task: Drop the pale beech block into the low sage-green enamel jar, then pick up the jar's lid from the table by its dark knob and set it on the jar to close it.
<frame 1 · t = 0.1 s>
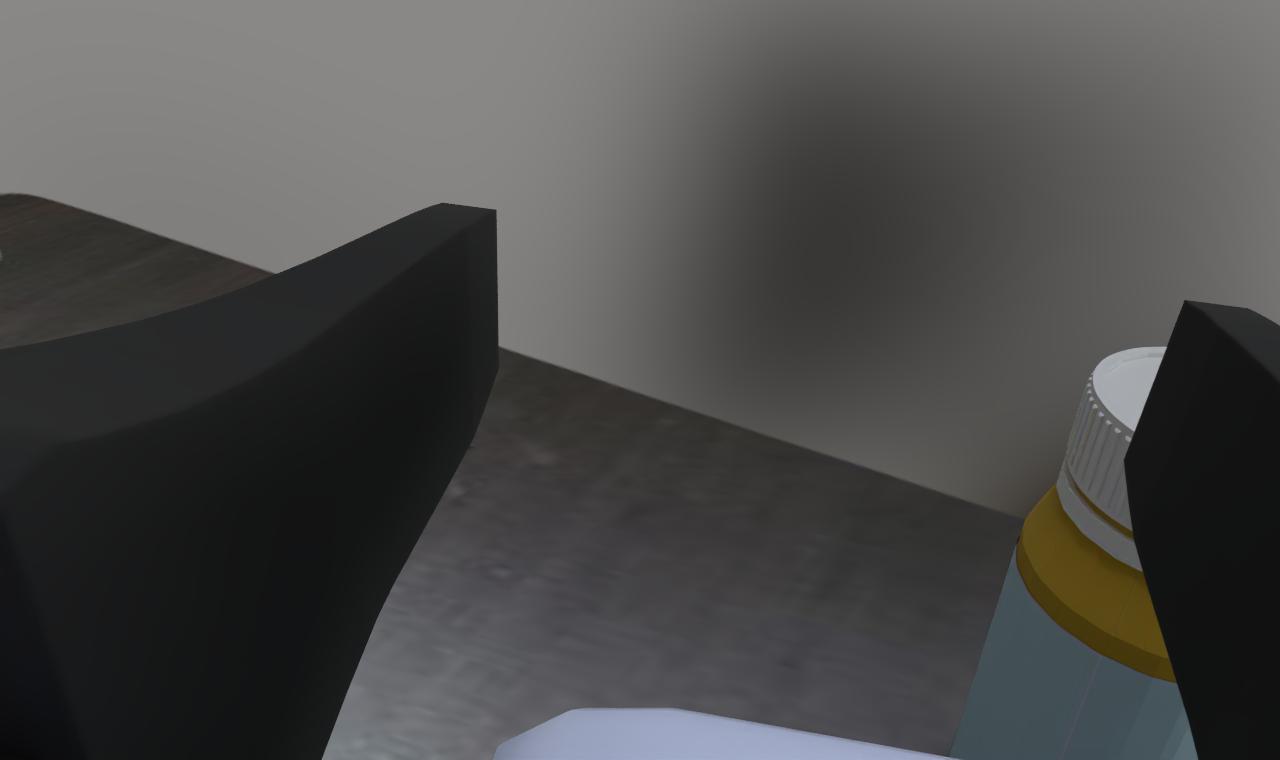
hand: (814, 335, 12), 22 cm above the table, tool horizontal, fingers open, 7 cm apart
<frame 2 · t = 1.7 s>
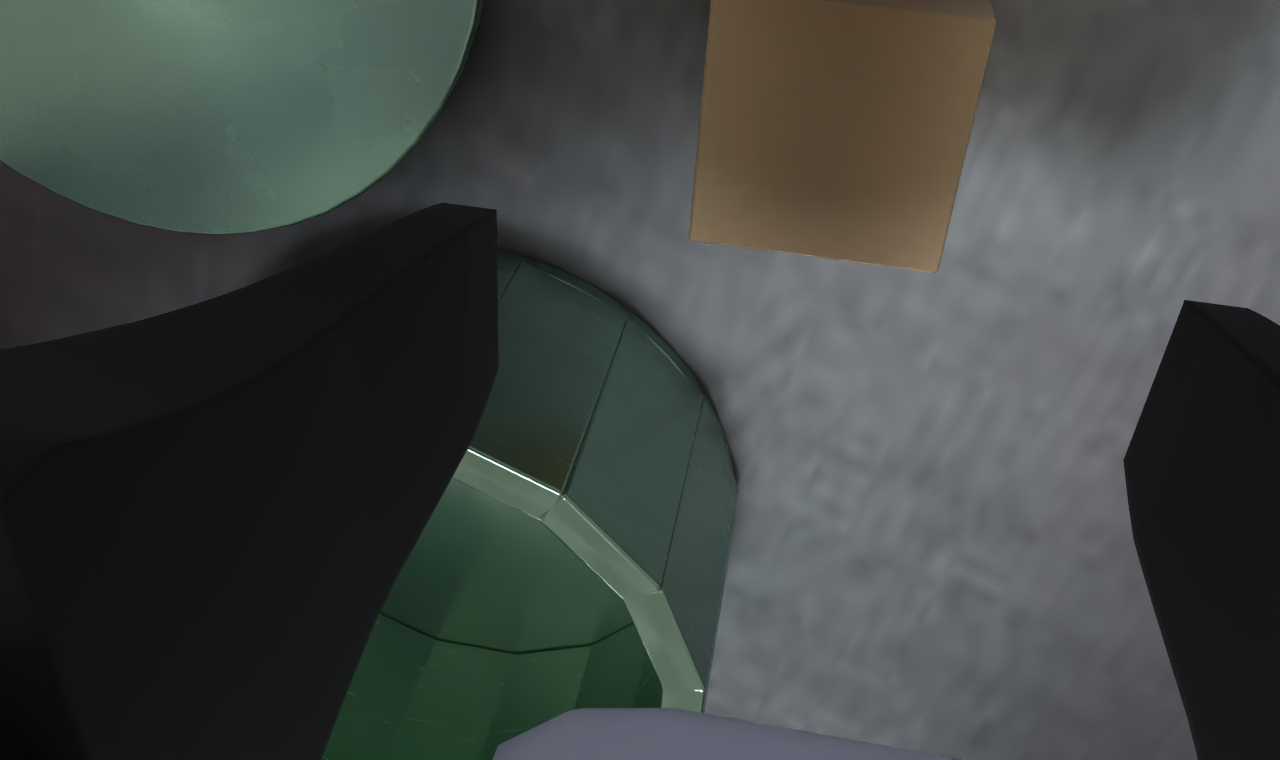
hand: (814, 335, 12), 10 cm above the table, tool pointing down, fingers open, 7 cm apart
block: (837, 58, 20), on the table
jar: (476, 476, 27), on the table
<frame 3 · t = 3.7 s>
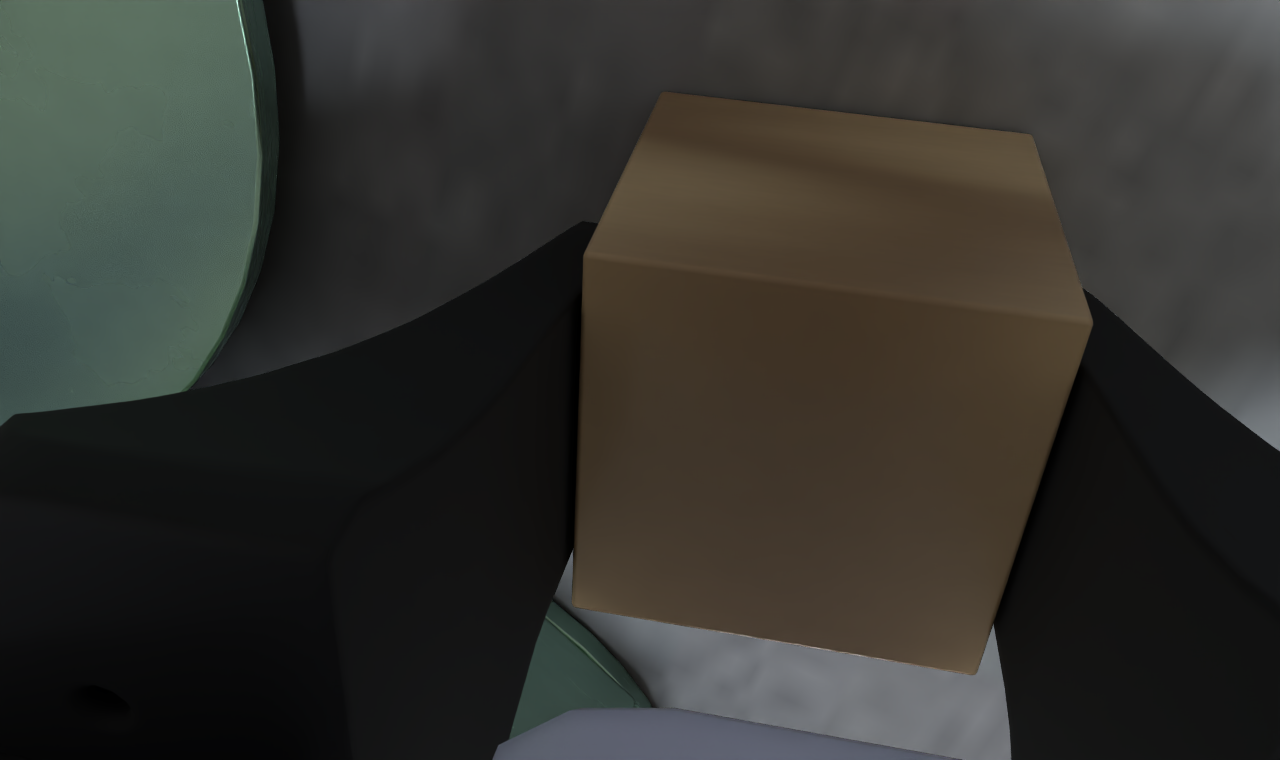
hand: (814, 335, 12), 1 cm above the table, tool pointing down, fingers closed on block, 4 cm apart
block: (816, 274, 13), on the table, touching gripper
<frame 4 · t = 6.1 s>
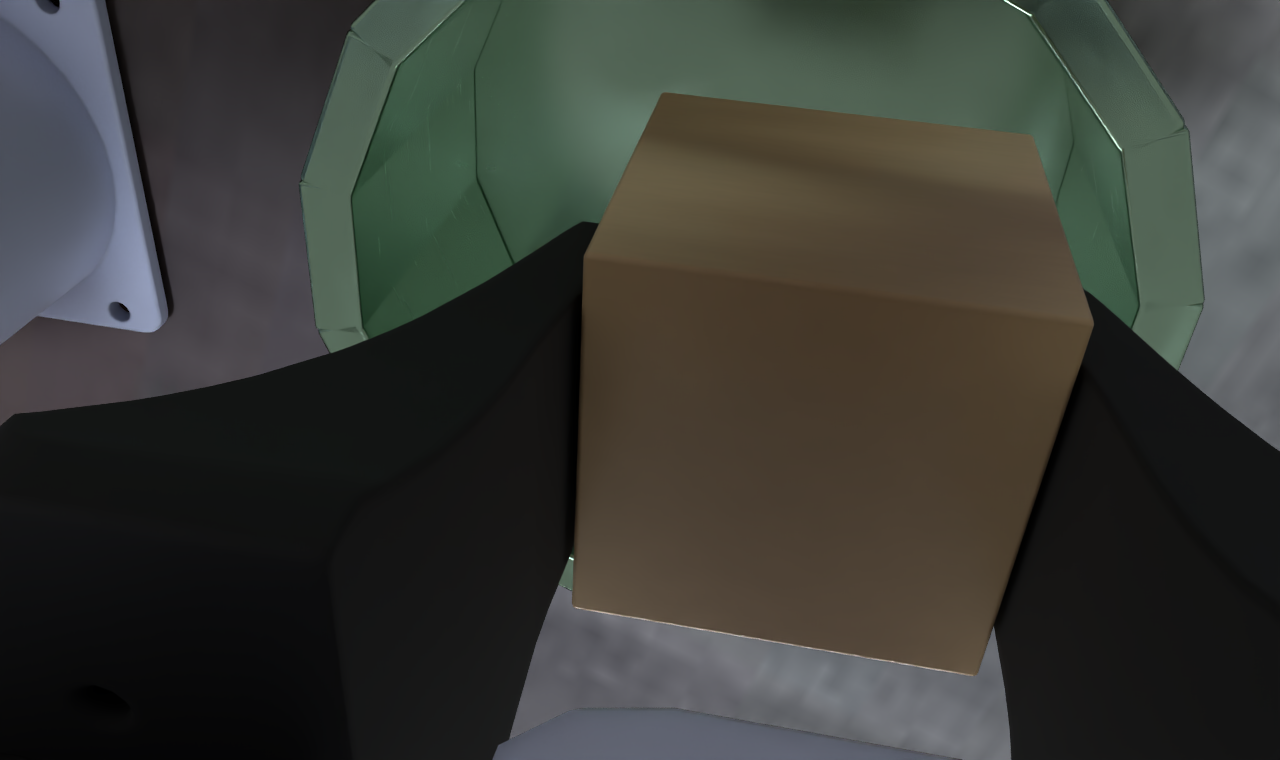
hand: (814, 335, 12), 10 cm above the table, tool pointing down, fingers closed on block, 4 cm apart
block: (816, 275, 13), point 8 cm above the table, touching gripper
jar: (759, 152, 21), on the table
when the fingers open (2 cm above the table, at t = 8.9 s): block stays where it is, resting on jar.
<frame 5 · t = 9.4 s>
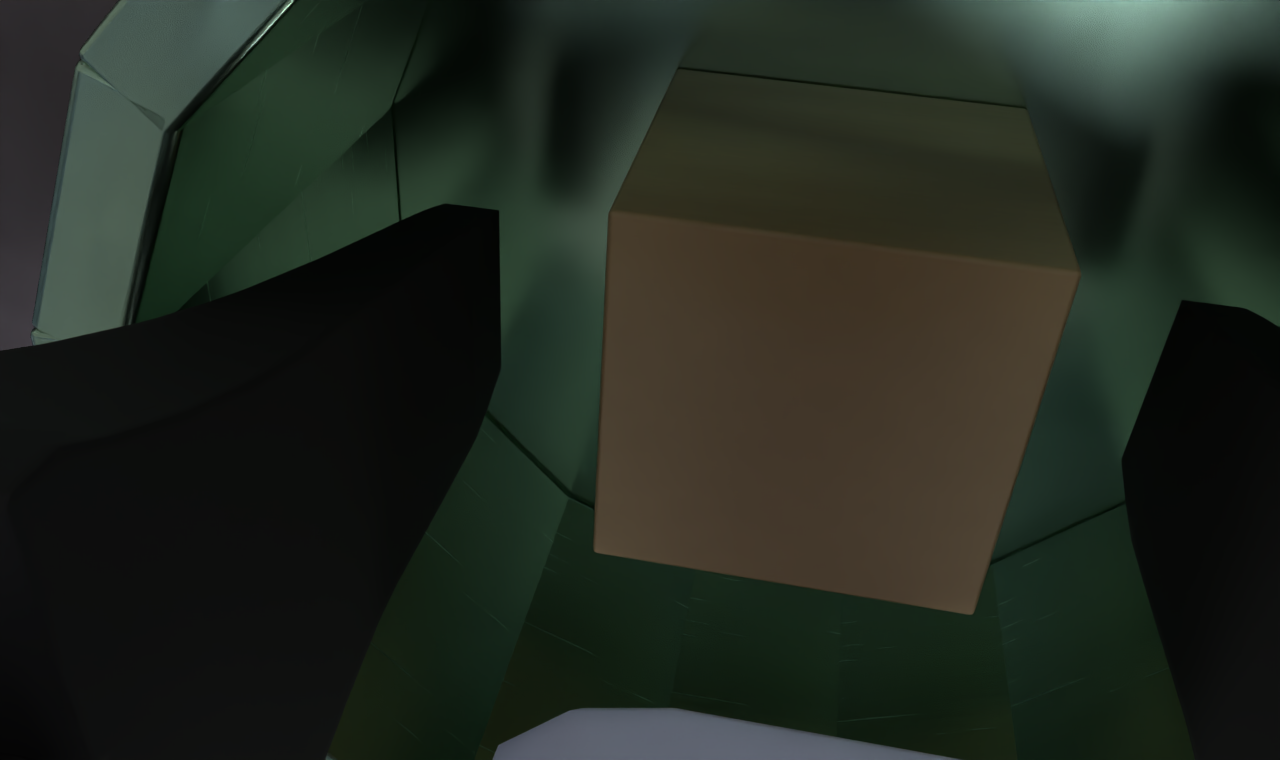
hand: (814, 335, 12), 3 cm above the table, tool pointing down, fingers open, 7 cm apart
block: (822, 244, 14), resting on jar
jar: (825, 229, 14), on the table
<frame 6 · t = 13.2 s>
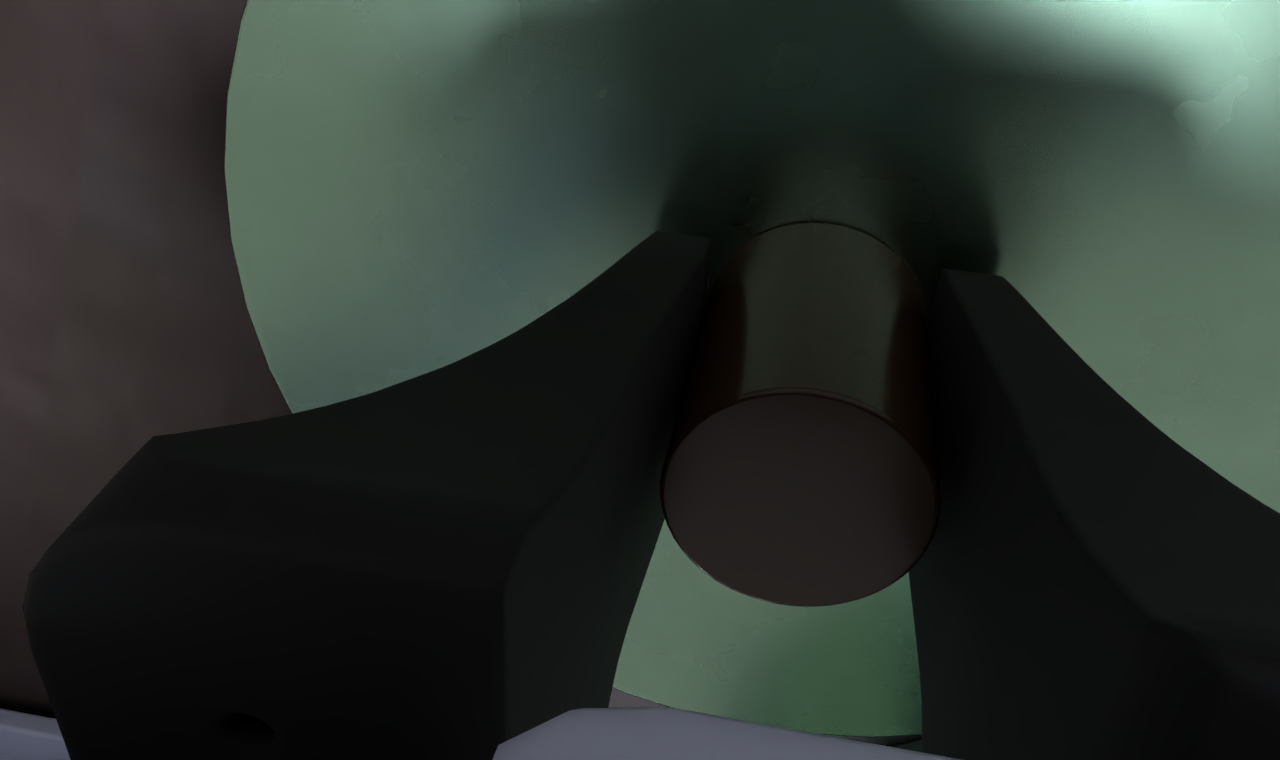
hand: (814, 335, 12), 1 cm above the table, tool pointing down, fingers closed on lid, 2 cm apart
lid: (815, 299, 13), point 1 cm above the table, touching gripper
when the fingers open (7 cm above the table, at t = 17.1 s): lid stays where it is, resting on jar.
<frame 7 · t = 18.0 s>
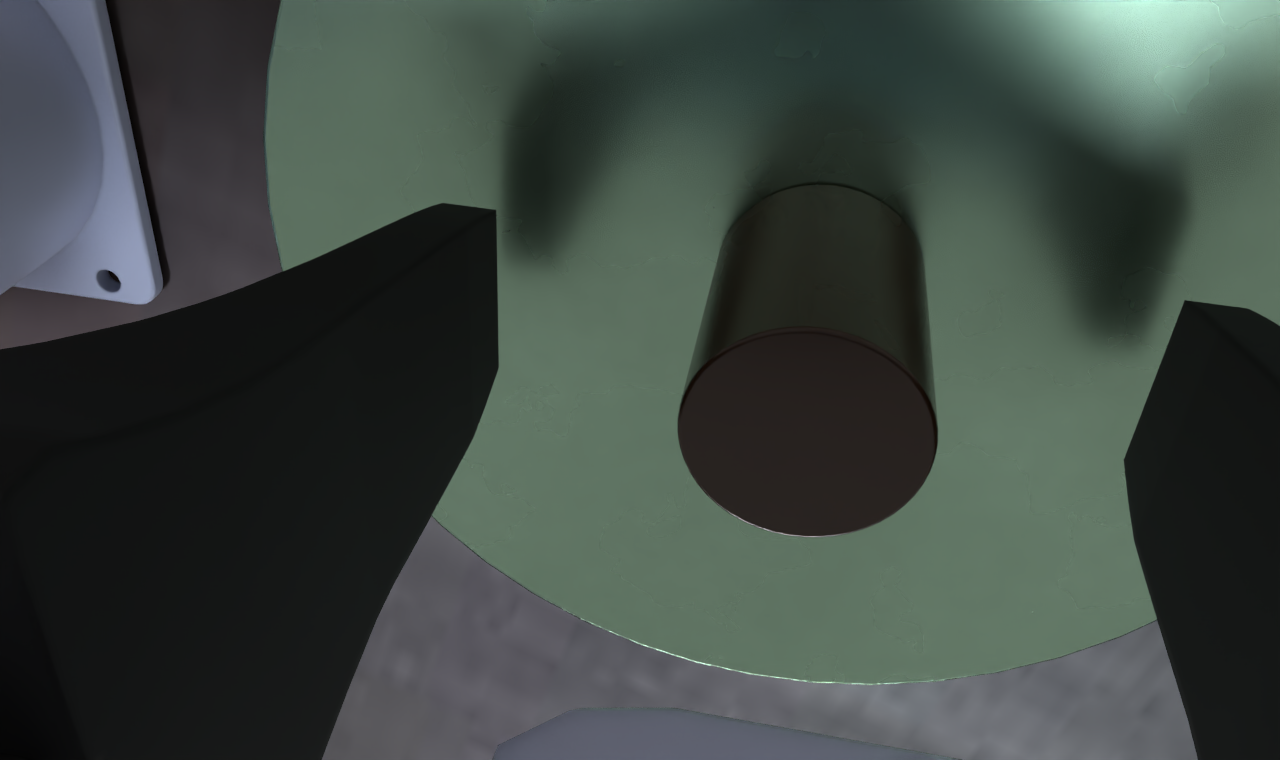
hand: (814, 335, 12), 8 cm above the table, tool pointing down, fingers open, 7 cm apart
lid: (820, 259, 13), point 6 cm above the table, touching jar
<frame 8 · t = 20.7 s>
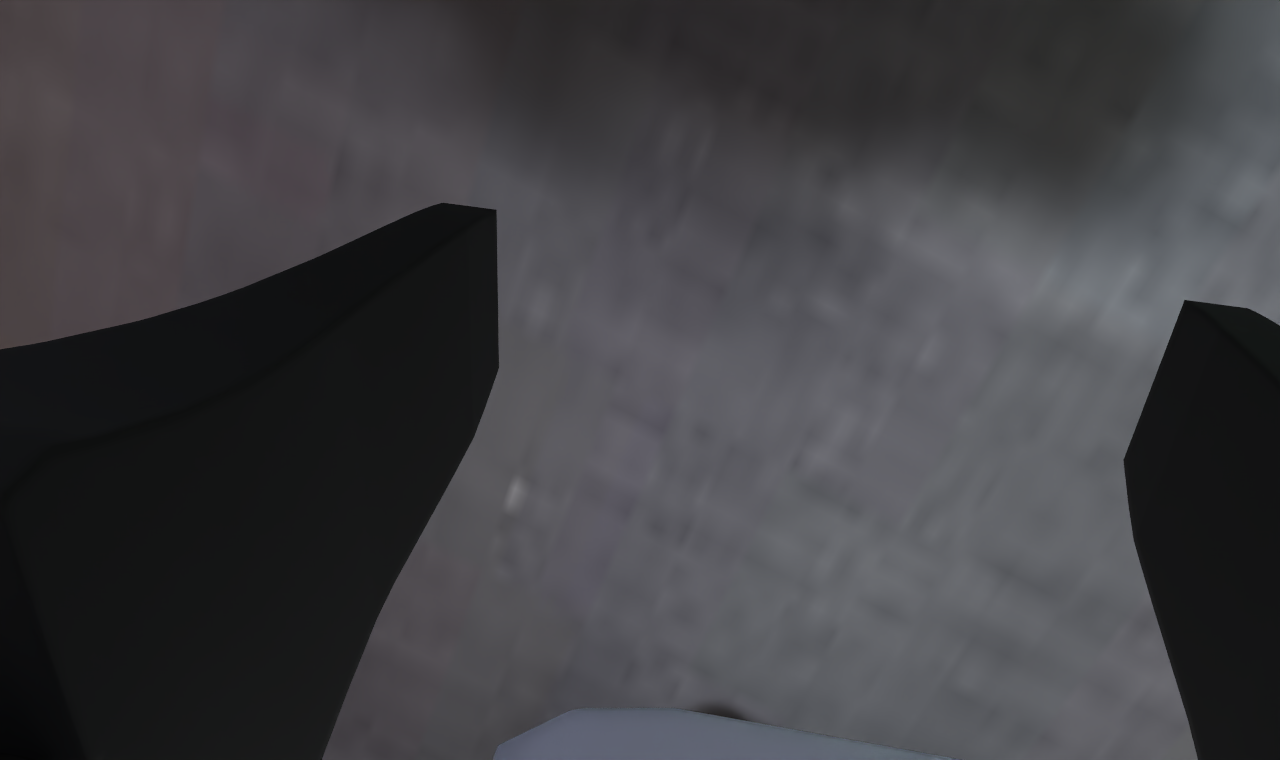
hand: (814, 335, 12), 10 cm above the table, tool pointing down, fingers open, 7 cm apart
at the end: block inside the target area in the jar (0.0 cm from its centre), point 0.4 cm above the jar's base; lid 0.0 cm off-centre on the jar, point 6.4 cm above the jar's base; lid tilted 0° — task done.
